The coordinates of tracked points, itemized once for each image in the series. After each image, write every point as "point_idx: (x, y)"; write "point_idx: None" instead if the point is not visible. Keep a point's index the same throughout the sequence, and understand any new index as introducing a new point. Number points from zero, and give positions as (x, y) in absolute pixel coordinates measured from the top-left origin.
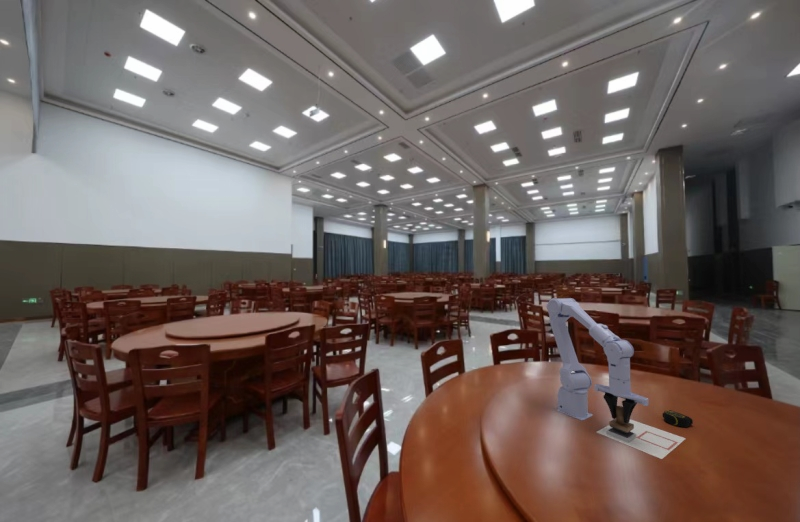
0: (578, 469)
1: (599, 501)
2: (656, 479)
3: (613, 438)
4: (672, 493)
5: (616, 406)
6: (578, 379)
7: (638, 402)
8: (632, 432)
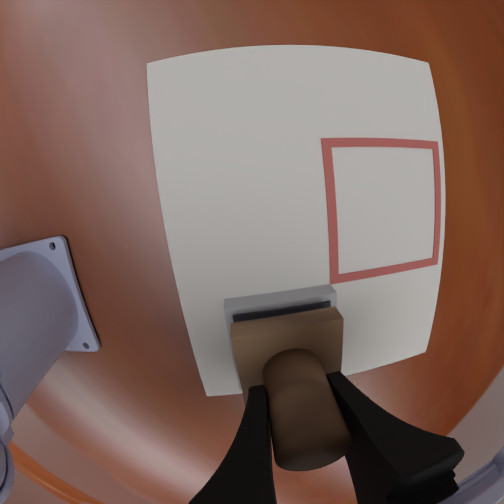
0: (300, 499)
1: (352, 501)
2: (413, 425)
3: None
4: (432, 428)
5: (282, 463)
6: None
7: (466, 483)
8: (291, 239)
